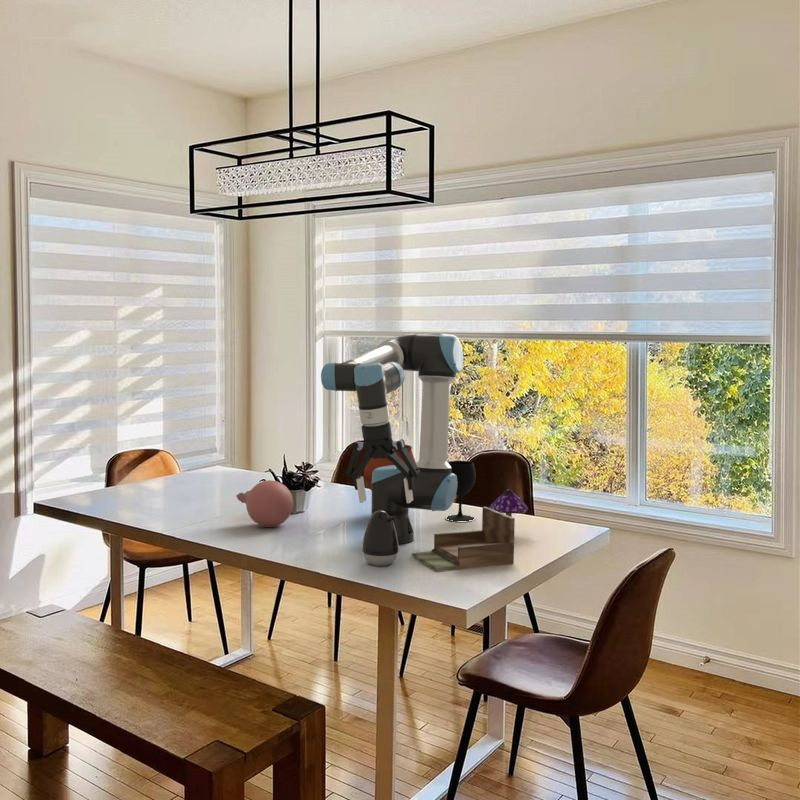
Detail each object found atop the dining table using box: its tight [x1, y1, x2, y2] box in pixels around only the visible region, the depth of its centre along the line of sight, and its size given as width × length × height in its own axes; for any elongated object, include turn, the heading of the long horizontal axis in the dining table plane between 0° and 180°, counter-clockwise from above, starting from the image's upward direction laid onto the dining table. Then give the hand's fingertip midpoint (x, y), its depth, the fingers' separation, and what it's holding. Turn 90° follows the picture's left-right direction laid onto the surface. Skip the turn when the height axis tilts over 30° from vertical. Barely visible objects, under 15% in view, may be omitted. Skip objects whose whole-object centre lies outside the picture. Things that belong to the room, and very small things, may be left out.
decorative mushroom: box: [489, 489, 529, 517], centre depth 274 cm, size 12×12×15 cm
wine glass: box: [447, 460, 477, 521], centre depth 297 cm, size 10×10×20 cm
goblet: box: [363, 444, 417, 492], centre depth 301 cm, size 19×19×25 cm
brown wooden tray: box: [411, 506, 516, 572], centre depth 243 cm, size 17×24×13 cm
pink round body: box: [236, 479, 294, 528], centre depth 283 cm, size 15×20×15 cm
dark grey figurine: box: [361, 510, 400, 567], centre depth 238 cm, size 10×10×15 cm
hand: (386, 501), depth 223 cm, fingers open, 13 cm apart
